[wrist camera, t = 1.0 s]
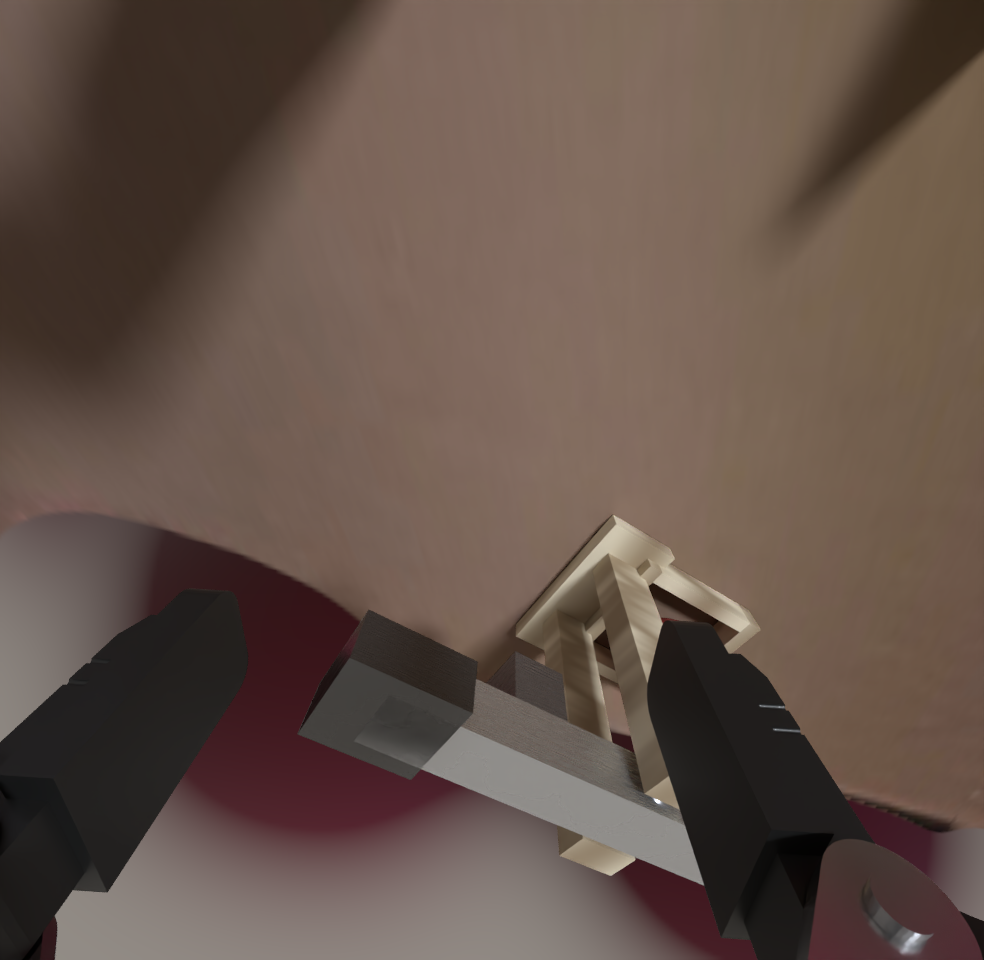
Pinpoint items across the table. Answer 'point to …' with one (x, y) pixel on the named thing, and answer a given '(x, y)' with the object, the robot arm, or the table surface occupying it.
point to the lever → (490, 739)
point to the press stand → (618, 649)
